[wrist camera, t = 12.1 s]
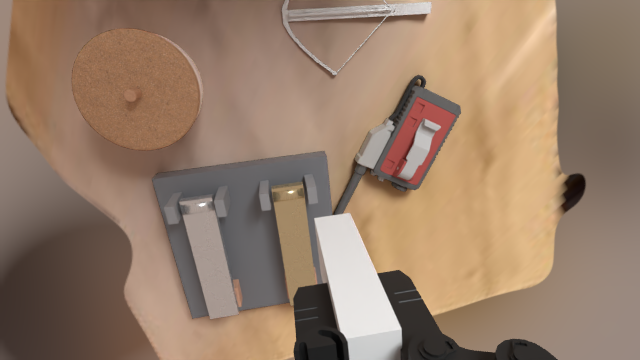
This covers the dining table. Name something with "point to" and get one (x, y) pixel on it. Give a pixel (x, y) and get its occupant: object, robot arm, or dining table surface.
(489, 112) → the dining table surface
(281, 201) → the brass strap
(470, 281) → the dining table surface
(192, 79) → the lidded jar
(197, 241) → the steel strap
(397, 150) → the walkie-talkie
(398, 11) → the crossbow
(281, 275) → the mount plate
